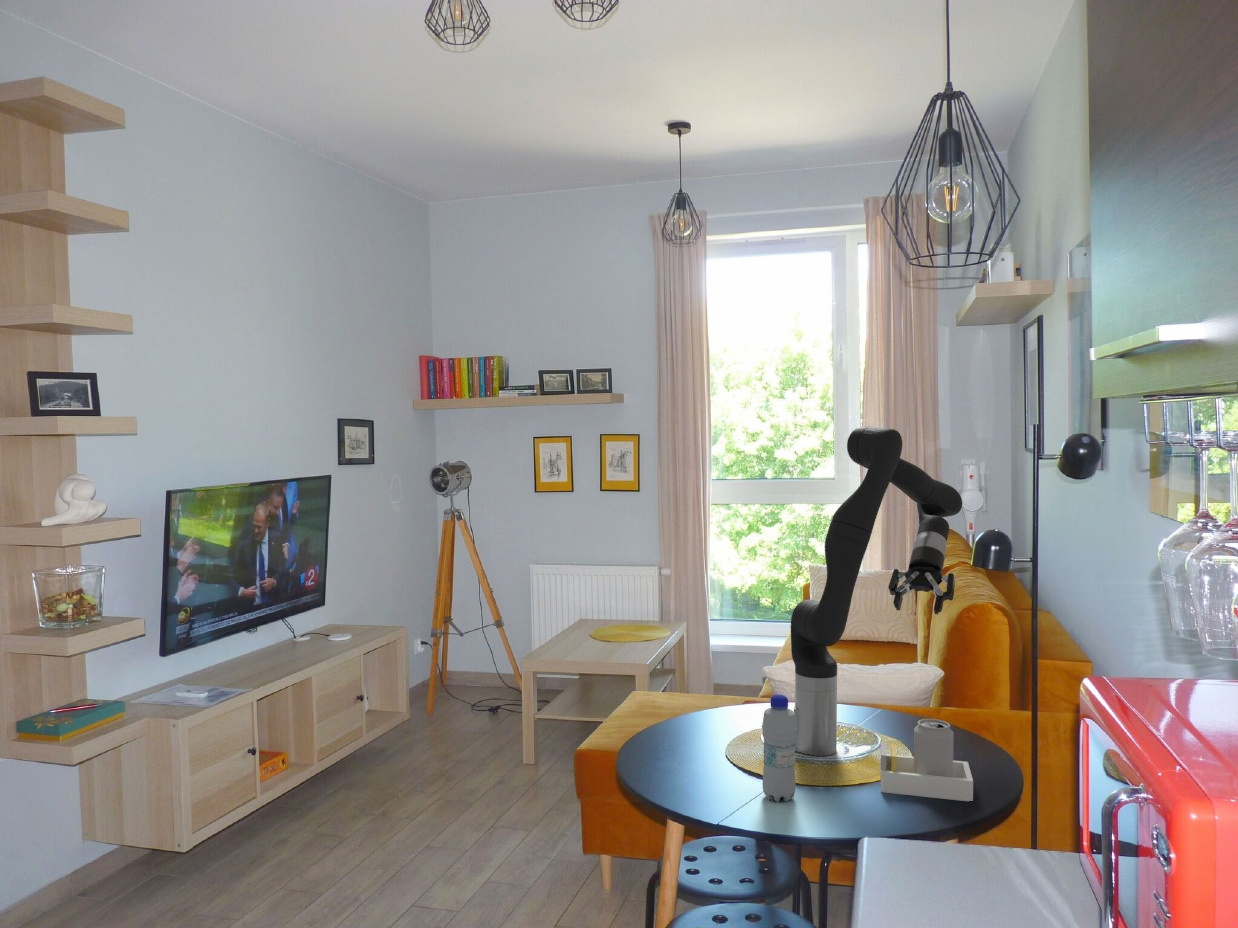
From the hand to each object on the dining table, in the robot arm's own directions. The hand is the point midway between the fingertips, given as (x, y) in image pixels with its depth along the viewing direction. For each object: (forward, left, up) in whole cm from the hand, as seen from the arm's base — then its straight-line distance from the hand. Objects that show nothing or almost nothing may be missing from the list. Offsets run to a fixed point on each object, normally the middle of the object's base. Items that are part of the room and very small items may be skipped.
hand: (916, 610), depth 206 cm
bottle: (-27, -41, -31) cm, 58 cm away
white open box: (+1, -27, -31) cm, 41 cm away
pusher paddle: (-5, -27, -29) cm, 40 cm away
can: (+2, -27, -30) cm, 40 cm away
